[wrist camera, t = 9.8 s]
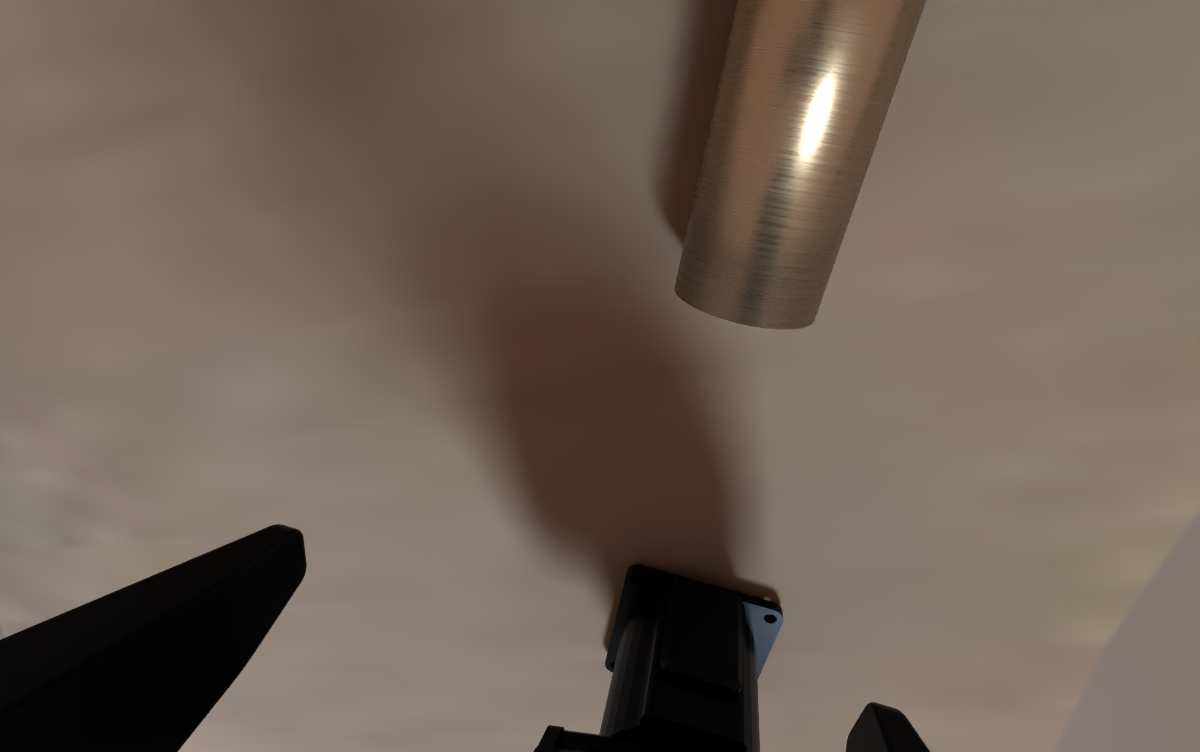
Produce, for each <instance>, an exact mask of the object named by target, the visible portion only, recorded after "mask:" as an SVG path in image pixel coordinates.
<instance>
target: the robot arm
mask: <svg viewBox="0 0 1200 752" xmlns="http://www.w3.org/2000/svg"><path fill="white" fill-rule="evenodd" d="M306 567H307V565H306V556H305V547H304V539H303V534H302V533H301V531H300V530H298V529H295V528H291V527H288V526H285V525H280V524H276V525H272V526H269V527H267V528H264V529H262V530H260V531H257V532H255V533H253V534H250V535H248V536H246V537H243V538H241V539H238V540H236V541H234V542H231V543H229V544H227V545H224V546H222V547H219V548H217V549H215V550H212V551H210V552H208V553H205V554H203V555H200V556H198V557H196V558H193V559H191V560H189V561H186V562H184V563H181V564H179V565H177V566H174V567H172V568H170V569H167V570H165V571H162V572H160V573H158V574H155V575H153V576H151V577H148V578H146V579H143V580H141V581H139V582H136V583H134V584H132V585H129V586H127V587H124V588H122V589H120V590H117V591H115V592H113V593H110V594H108V595H105V596H103V597H101V598H98V599H96V600H94V601H91V602H89V603H86V604H84V605H82V606H79V607H77V608H75V609H72V610H70V611H67V612H65V613H63V614H60V615H58V616H56V617H53V618H51V619H48V620H46V621H44V622H41V623H39V624H37V625H34V626H32V627H29V628H27V629H25V630H22V631H20V632H18V633H15V634H13V635H10V636H8V637H6V638H3V639H1V640H0V752H178V751H179V749H180V748H181V747H182V746H183V744H184V743H185V742H186V741H187V739H188V738H189V737H190V735H191V734H192V733H193V732H194V730H195V729H196V728H197V727H198V725H199V724H200V723H201V722H202V720H203V719H204V718H205V717H206V715H207V714H208V713H209V712H210V710H211V709H212V708H213V707H214V705H215V704H216V703H217V702H218V700H219V699H220V698H221V697H222V695H223V694H224V693H225V692H226V690H227V689H228V688H229V687H230V685H231V684H232V683H233V682H234V680H235V679H236V678H237V676H238V675H239V674H240V672H241V671H242V670H243V669H244V667H245V666H246V664H247V663H248V661H249V660H250V659H251V657H252V656H253V654H254V653H255V651H256V650H257V648H258V647H259V645H260V644H261V642H262V641H263V639H264V638H265V636H266V635H267V633H268V632H269V630H270V629H271V627H272V626H273V624H274V622H275V621H276V619H277V618H278V616H279V615H280V613H281V612H282V610H283V609H284V607H285V606H286V604H287V603H288V601H289V600H290V598H291V597H292V595H293V594H294V592H295V591H296V589H297V588H298V586H299V585H300V583H301V581H302V580H303V578H304V575H305V572H306ZM635 576H639V577H641V578H637V577H635ZM767 614H772V616H769V615H767ZM782 623H783V611H782V609H781V607H780V606H779V605H778V604H776V603H773V602H770V601H766V600H763V599H759V598H756V597H752V596H749V595H745V594H742V593H738V592H735V591H731V590H728V589H724V588H721V587H717V586H714V585H710V584H707V583H703V582H699V581H696V580H692V579H689V578H685V577H682V576H678V575H675V574H671V573H668V572H664V571H661V570H657V569H654V568H650V567H647V566H643V565H638V564H636V565H632V566H630V567H629V568H628V570H627V574H626V578H625V583H624V587H623V591H622V595H621V599H620V603H619V607H618V612H617V616H616V620H615V624H614V628H613V632H612V636H611V641H610V645H609V649H608V653H607V657H606V661H605V666H606V668H607V669H608V670H609V671H611V672H613V675H612V680H611V684H610V689H609V693H608V698H607V702H606V707H605V711H604V716H603V720H602V725H601V729H600V734H599V735H597V734H589V733H582V732H574V731H567V730H564V727H559V726H551V725H549V726H548V727H547V729H546V731H545V733H544V735H543V737H542V739H541V741H540V743H539V745H538V746H537V747H536V748H535V750H534V752H760V740H759V712H758V685H757V680H758V677H759V675H760V673H761V671H762V668H763V666H764V664H765V661H766V659H767V657H768V655H769V652H770V650H771V648H772V646H773V643H774V641H775V639H776V637H777V634H778V632H779V630H780V627H781V625H782ZM846 752H930V751H929V749H928V748H927V746H926V745H925V744H924V742H923V741H922V739H921V738H920V736H919V735H918V733H917V732H916V731H915V729H914V728H913V726H912V725H911V723H910V722H909V720H908V719H907V718H906V716H905V715H904V714H903V713H902V712H901V711H899V710H897V709H895V708H892V707H889V706H885V705H882V704H879V703H875V702H871V703H869V704H867V706H866V707H865V708H864V710H863V712H862V713H861V715H860V717H859V718H858V720H857V722H856V723H855V725H854V727H853V728H852V730H851V732H850V734H849V736H848V739H847V746H846Z"/></svg>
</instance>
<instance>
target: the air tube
mask: <svg viewBox="0 0 1200 752" xmlns="http://www.w3.org/2000/svg"><path fill="white" fill-rule="evenodd" d="M925 2H926V0H737V3H736V8H735V12H734V17H733V21H732V26H731V31H730V35H729V40H728V44H727V49H726V54H725V58H724V63H723V67H722V72H721V77H720V81H719V86H718V90H717V95H716V99H715V104H714V109H713V113H712V118H711V122H710V127H709V132H708V136H707V141H706V145H705V150H704V155H703V159H702V164H701V168H700V173H699V178H698V182H697V187H696V191H695V196H694V200H693V205H692V210H691V214H690V219H689V223H688V228H687V233H686V237H685V242H684V246H683V251H682V256H681V260H680V265H679V269H678V274H677V279H676V283H675V292H676V294H677V295H678V296H679V297H680V298H681V299H682V300H683V301H685V302H686V303H687V304H689V305H691V306H693V307H694V308H697V309H699V310H701V311H703V312H705V313H708V314H710V315H713V316H716V317H718V318H722V319H725V320H728V321H732V322H736V323H740V324H744V325H749V326H755V327H761V328H769V329H799V328H804V327H807V326H809V325H811V324H812V323H813V322H814V321H815V318H816V315H817V312H818V309H819V306H820V304H821V301H822V298H823V295H824V292H825V289H826V286H827V284H828V281H829V278H830V275H831V272H832V269H833V266H834V263H835V261H836V258H837V255H838V252H839V249H840V246H841V243H842V240H843V238H844V235H845V232H846V229H847V226H848V223H849V220H850V218H851V215H852V212H853V209H854V206H855V203H856V200H857V197H858V195H859V192H860V189H861V186H862V183H863V180H864V177H865V175H866V172H867V169H868V166H869V163H870V160H871V157H872V154H873V152H874V149H875V146H876V143H877V140H878V137H879V134H880V131H881V129H882V126H883V123H884V120H885V117H886V114H887V111H888V109H889V106H890V103H891V100H892V97H893V94H894V91H895V88H896V86H897V83H898V80H899V77H900V74H901V71H902V68H903V66H904V63H905V60H906V57H907V54H908V51H909V48H910V45H911V43H912V40H913V37H914V34H915V31H916V28H917V25H918V22H919V20H920V17H921V14H922V11H923V8H924V5H925Z"/></svg>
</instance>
